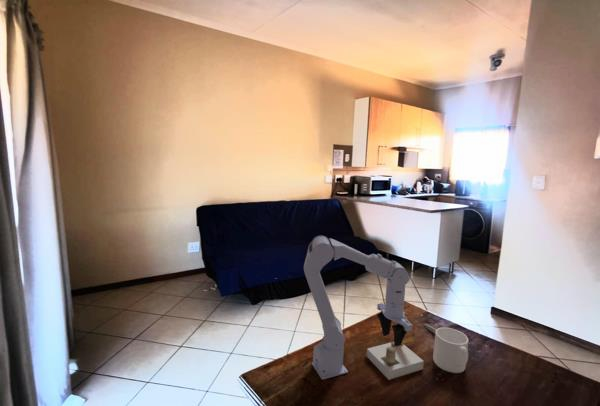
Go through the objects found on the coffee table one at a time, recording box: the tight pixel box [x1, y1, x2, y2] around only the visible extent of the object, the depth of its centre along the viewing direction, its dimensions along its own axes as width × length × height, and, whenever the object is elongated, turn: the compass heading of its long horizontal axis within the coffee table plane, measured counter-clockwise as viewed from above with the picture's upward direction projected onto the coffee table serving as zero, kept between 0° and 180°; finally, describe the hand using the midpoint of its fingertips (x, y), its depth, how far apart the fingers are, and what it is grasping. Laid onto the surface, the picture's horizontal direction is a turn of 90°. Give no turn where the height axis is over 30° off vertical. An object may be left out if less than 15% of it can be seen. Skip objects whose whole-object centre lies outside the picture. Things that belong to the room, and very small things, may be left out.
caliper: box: [422, 323, 438, 334], centre depth 116 cm, size 20×1×6 cm, turn 10°
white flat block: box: [366, 341, 425, 381], centre depth 101 cm, size 14×12×4 cm
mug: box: [432, 327, 469, 374], centre depth 100 cm, size 13×10×10 cm
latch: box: [401, 336, 415, 345], centre depth 103 cm, size 2×8×1 cm
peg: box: [385, 347, 396, 366], centre depth 98 cm, size 3×3×7 cm
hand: (391, 339), depth 97 cm, fingers open, 5 cm apart
